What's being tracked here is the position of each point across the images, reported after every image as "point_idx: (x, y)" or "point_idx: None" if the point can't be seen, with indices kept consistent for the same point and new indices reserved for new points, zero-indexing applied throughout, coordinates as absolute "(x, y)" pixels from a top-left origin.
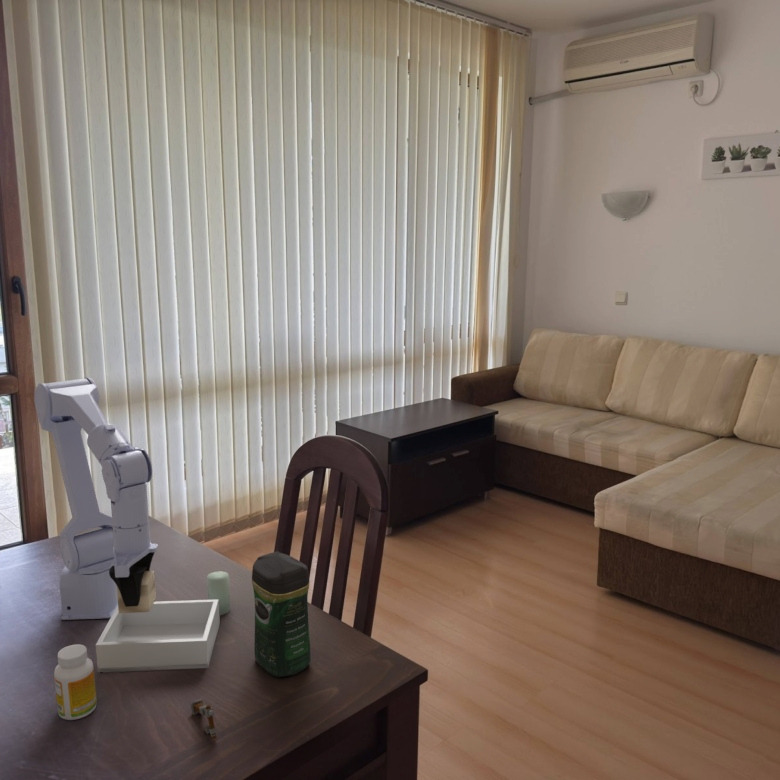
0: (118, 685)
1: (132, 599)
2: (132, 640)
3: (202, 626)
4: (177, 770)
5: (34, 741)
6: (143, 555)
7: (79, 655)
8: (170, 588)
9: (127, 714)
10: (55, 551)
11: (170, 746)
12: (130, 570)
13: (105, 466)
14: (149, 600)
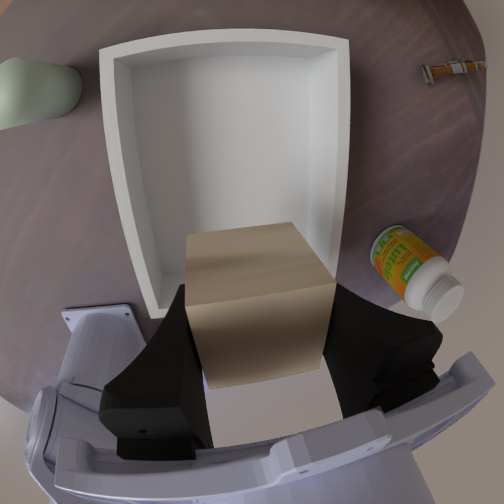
0: (350, 210)
1: None
2: None
3: (148, 92)
4: (483, 105)
5: None
6: (416, 416)
7: (463, 288)
8: (8, 242)
9: (414, 175)
10: (26, 401)
11: (463, 111)
12: (436, 375)
13: None
14: (291, 240)
